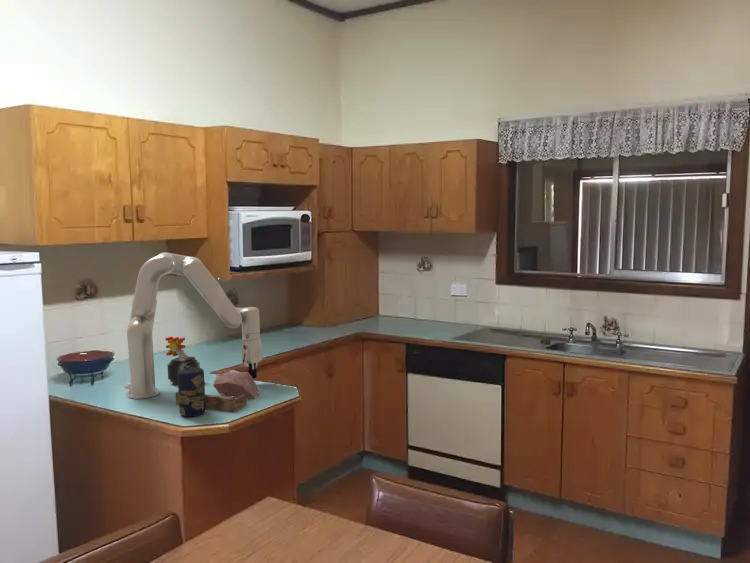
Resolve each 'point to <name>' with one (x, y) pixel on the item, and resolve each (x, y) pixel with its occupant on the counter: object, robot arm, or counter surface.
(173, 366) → the bomb
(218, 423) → the counter surface
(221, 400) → the stop cradle
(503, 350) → the counter surface
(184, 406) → the canister
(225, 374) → the stone
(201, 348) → the counter surface
